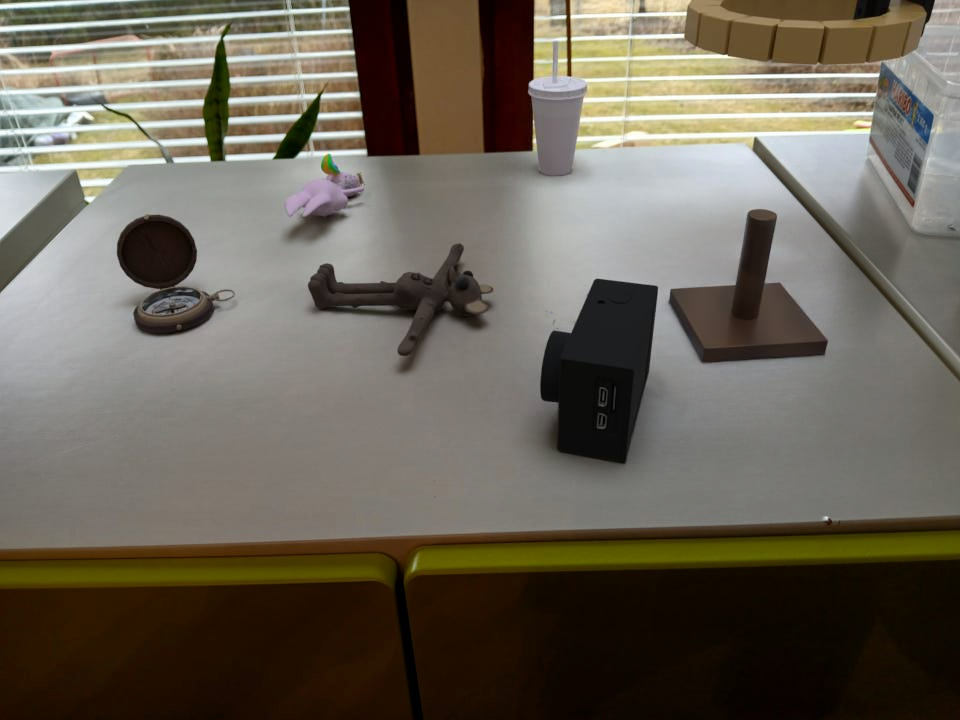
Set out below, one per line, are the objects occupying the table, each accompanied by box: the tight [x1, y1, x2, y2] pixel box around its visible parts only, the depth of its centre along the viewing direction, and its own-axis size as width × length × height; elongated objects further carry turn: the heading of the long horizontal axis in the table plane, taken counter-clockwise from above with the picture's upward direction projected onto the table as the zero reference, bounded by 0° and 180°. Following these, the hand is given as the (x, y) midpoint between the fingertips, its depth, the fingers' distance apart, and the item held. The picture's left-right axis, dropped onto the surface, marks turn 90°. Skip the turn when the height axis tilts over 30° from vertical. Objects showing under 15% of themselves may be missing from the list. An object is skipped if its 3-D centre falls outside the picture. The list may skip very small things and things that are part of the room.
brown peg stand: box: [668, 208, 829, 363], centre depth 58 cm, size 9×9×9 cm
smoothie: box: [527, 40, 588, 177], centre depth 87 cm, size 6×6×14 cm
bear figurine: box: [307, 242, 494, 357], centre depth 64 cm, size 18×4×14 cm
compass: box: [116, 213, 236, 334], centre depth 64 cm, size 8×8×7 cm
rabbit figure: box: [284, 153, 366, 218], centre depth 80 cm, size 6×6×15 cm
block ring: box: [683, 0, 927, 66], centre depth 61 cm, size 17×17×2 cm
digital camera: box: [539, 278, 659, 464], centre depth 51 cm, size 10×5×7 cm, turn 162°
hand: (887, 33), depth 62 cm, fingers closed on block ring, 2 cm apart
